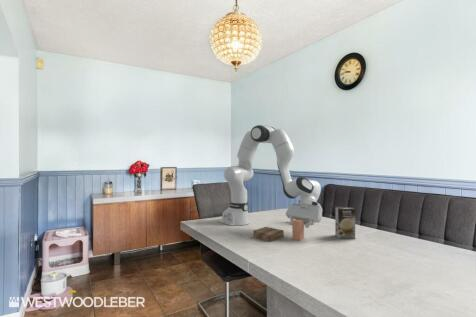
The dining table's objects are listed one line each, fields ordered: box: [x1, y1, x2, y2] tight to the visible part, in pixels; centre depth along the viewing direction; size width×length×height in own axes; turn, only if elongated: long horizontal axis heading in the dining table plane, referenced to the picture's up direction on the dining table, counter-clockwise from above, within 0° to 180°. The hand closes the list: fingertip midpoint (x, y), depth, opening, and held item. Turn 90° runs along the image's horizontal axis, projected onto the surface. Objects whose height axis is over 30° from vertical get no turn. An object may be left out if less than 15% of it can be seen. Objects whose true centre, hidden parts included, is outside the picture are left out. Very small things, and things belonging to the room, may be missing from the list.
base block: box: [252, 226, 285, 242], centre depth 147 cm, size 12×12×4 cm
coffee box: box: [334, 206, 356, 239], centre depth 146 cm, size 9×6×16 cm
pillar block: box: [291, 219, 305, 241], centre depth 143 cm, size 4×4×10 cm
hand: (298, 225), depth 144 cm, fingers open, 8 cm apart
